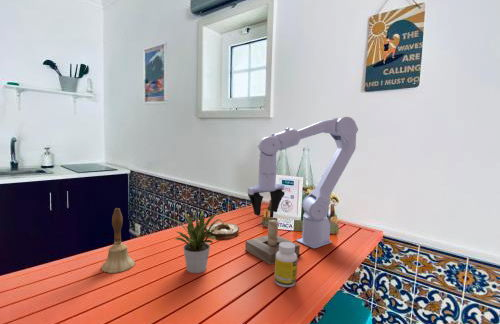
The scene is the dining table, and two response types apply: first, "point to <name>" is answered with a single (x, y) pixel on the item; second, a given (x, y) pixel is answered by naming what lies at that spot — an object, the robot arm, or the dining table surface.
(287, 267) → the supplement bottle
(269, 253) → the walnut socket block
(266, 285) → the dining table surface
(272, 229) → the beech peg
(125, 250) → the hand bell
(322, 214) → the robot arm
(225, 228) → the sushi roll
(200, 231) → the house plant
